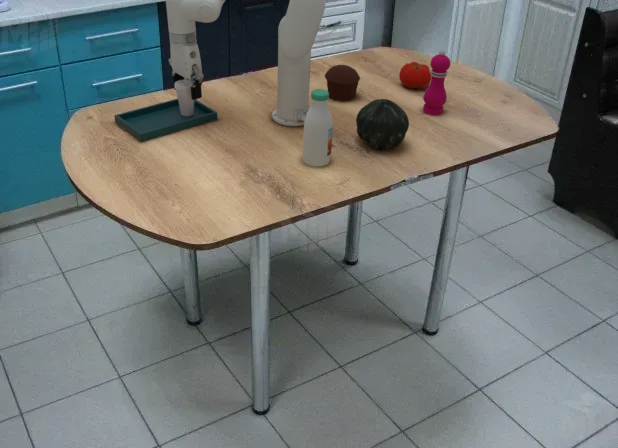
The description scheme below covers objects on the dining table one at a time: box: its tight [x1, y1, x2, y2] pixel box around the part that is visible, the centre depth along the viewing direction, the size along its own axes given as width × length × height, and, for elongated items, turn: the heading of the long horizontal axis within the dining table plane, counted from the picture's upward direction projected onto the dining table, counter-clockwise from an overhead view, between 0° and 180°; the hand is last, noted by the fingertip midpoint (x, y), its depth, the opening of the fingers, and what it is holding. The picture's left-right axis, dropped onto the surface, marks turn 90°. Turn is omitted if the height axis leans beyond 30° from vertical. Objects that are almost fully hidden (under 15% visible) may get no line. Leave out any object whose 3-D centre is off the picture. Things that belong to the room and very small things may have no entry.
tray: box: [113, 98, 219, 143], centre depth 199 cm, size 16×26×2 cm, turn 131°
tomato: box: [399, 61, 432, 89], centre depth 229 cm, size 11×11×8 cm
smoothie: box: [173, 77, 194, 116], centre depth 200 cm, size 6×6×14 cm
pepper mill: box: [422, 49, 451, 116], centre depth 209 cm, size 7×7×20 cm
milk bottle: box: [302, 88, 334, 167], centre depth 178 cm, size 8×8×20 cm
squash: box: [355, 98, 410, 151], centre depth 190 cm, size 14×15×15 cm
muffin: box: [324, 64, 361, 102], centre depth 218 cm, size 12×11×10 cm
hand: (187, 93), depth 200 cm, fingers open, 9 cm apart
